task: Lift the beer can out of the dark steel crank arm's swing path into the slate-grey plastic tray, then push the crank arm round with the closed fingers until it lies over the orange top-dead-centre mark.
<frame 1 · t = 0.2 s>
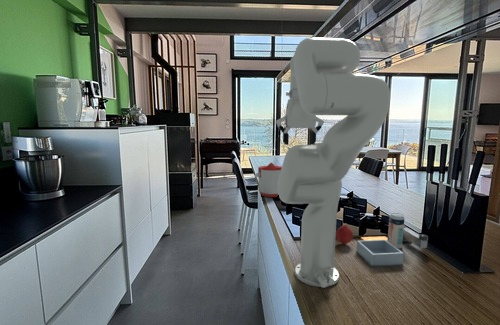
hand: (299, 144, 101), 37 cm above the kitchen island, tool pointing down, fingers open, 9 cm apart
crank base: (400, 238, 109), on the kitchen island
tray: (378, 258, 94), on the kitchen island
crank arm: (410, 234, 103), point 4 cm above the kitchen island, hinge at 90.0°
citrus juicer: (269, 195, 171), on the kitchen island
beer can: (394, 247, 102), on the kitchen island
onion: (343, 245, 104), on the kitchen island
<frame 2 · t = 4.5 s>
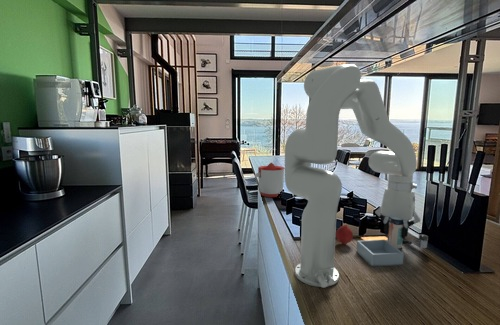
hand: (395, 234, 101), 4 cm above the kitchen island, tool pointing down, fingers closed on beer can, 4 cm apart
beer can: (394, 247, 102), on the kitchen island, touching gripper
everything else where it was.
when the fingers open (7 cm above the kitchen island, at t = 10.4 s): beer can drops 2 cm, resting on tray.
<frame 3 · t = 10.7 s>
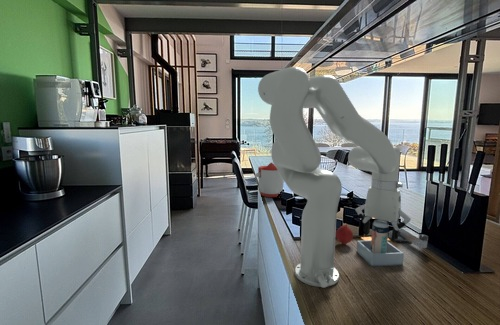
hand: (380, 236, 92), 7 cm above the kitchen island, tool pointing down, fingers open, 7 cm apart
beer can: (377, 257, 94), resting on tray
everything else where it was.
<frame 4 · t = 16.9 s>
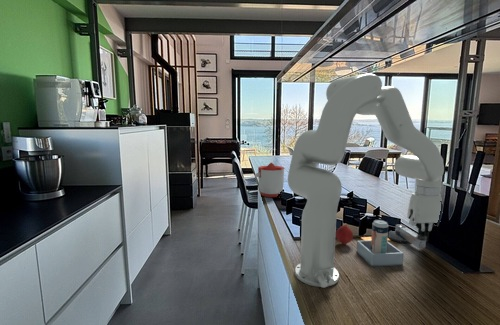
hand: (422, 240, 101), 3 cm above the kitchen island, tool pointing down, fingers closed
crank arm: (410, 234, 103), point 4 cm above the kitchen island, hinge at 87.4°, touching gripper
everything else where it was.
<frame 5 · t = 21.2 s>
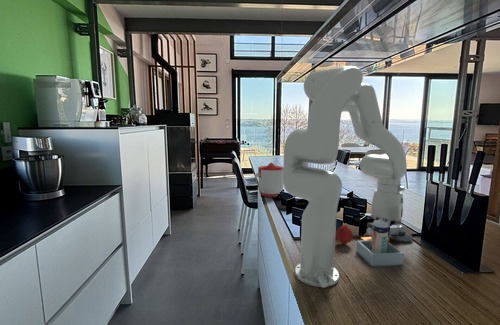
hand: (384, 235, 105), 3 cm above the kitchen island, tool pointing down, fingers closed
crank arm: (386, 228, 108), point 4 cm above the kitchen island, hinge at -2.0°, touching gripper
everything else where it was.
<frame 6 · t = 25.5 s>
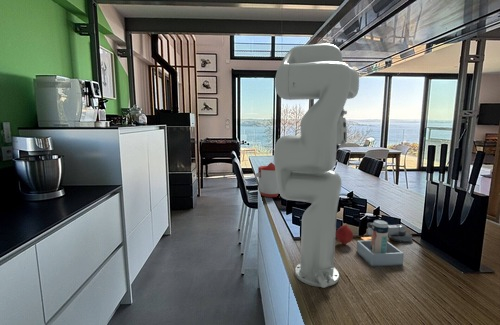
hand: (330, 161, 110), 29 cm above the kitchen island, tool pointing down, fingers closed
crank arm: (386, 228, 108), point 4 cm above the kitchen island, hinge at -2.1°
everything else where it was.
at the end: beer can 0.2 cm off-centre on the tray, point 0.3 cm above the tray's base; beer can tilted 0°; crank arm at -2° (first picture: +90°) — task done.
